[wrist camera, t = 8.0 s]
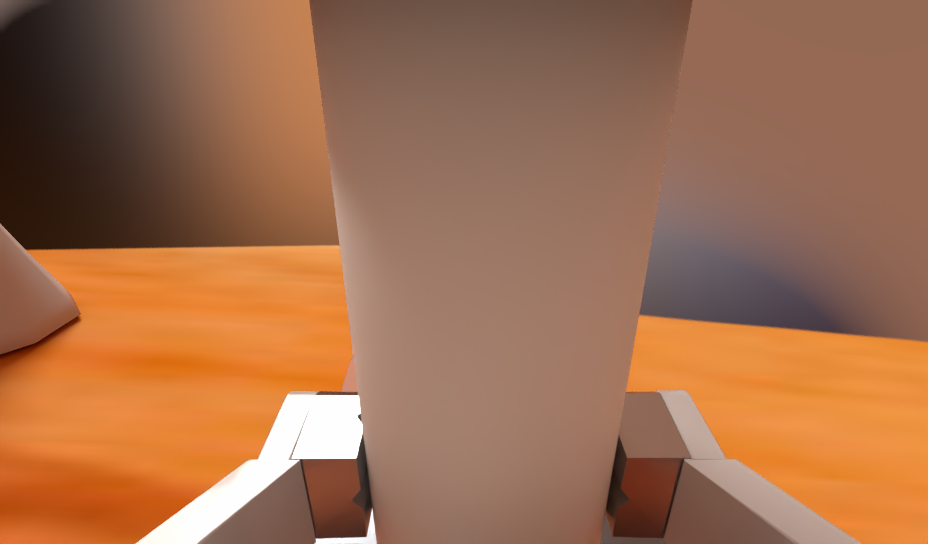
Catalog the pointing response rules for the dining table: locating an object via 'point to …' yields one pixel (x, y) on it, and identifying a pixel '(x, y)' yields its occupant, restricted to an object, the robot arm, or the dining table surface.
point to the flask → (28, 298)
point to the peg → (495, 248)
